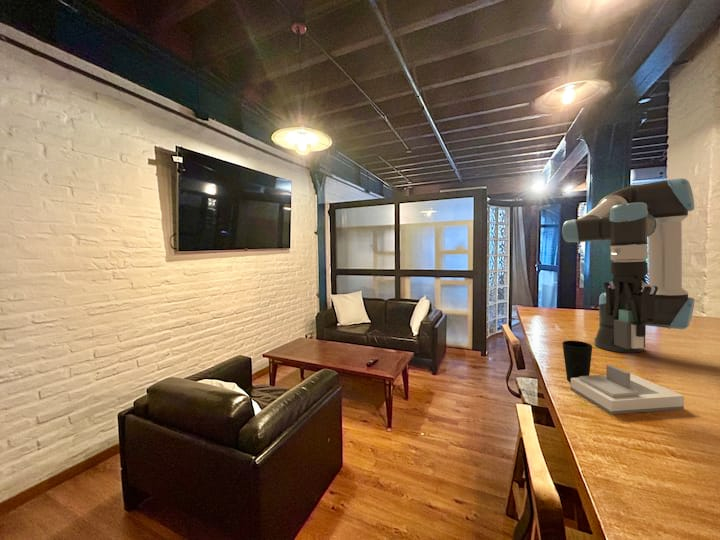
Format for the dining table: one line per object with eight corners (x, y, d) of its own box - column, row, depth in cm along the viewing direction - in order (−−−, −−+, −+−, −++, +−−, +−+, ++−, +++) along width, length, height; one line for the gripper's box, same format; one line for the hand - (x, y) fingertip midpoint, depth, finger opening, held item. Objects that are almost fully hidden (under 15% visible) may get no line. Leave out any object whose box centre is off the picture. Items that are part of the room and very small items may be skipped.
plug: (631, 343, 84) (630, 301, 83) (645, 347, 80) (644, 303, 79) (614, 344, 83) (613, 302, 83) (627, 348, 79) (626, 304, 79)
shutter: (603, 377, 88) (602, 361, 87) (639, 395, 76) (639, 377, 76) (579, 378, 87) (579, 363, 87) (612, 397, 76) (612, 379, 76)
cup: (594, 388, 89) (593, 349, 88) (563, 383, 93) (563, 346, 92) (591, 378, 95) (590, 342, 95) (562, 374, 99) (561, 339, 99)
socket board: (632, 385, 89) (632, 373, 89) (683, 409, 75) (683, 395, 75) (570, 389, 89) (570, 378, 89) (611, 414, 75) (611, 400, 75)
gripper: (589, 261, 89) (590, 337, 90) (646, 262, 72) (646, 356, 73) (614, 259, 89) (614, 335, 90) (676, 260, 72) (676, 354, 73)
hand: (629, 344), depth 81 cm, fingers closed on plug, 4 cm apart
